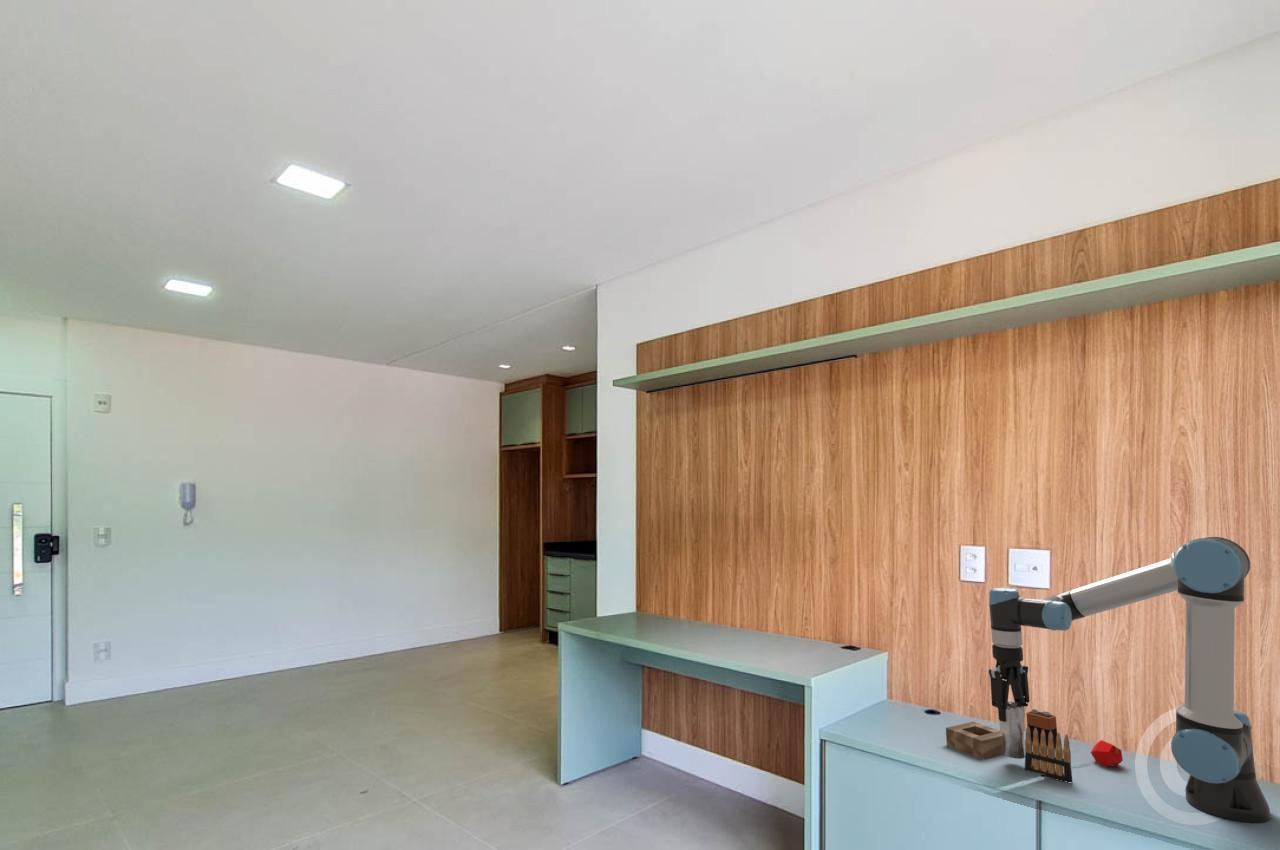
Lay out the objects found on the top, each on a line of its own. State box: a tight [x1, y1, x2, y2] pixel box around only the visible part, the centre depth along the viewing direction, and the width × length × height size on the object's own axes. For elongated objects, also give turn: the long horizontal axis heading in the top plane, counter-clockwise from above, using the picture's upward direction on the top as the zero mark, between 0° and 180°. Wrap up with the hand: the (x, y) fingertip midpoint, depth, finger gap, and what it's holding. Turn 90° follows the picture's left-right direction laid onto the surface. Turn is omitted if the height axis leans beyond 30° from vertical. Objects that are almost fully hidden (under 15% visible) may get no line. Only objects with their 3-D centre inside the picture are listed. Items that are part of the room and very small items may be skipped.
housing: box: [945, 721, 1004, 760], centre depth 193 cm, size 12×12×6 cm
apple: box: [1090, 739, 1124, 767], centre depth 183 cm, size 7×7×8 cm
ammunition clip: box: [1024, 725, 1073, 783], centre depth 175 cm, size 11×2×12 cm, turn 52°
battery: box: [1025, 708, 1058, 748], centre depth 198 cm, size 4×7×10 cm, turn 33°
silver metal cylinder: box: [1002, 701, 1025, 760], centre depth 181 cm, size 5×5×14 cm
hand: (1012, 731), depth 181 cm, fingers closed on silver metal cylinder, 5 cm apart
